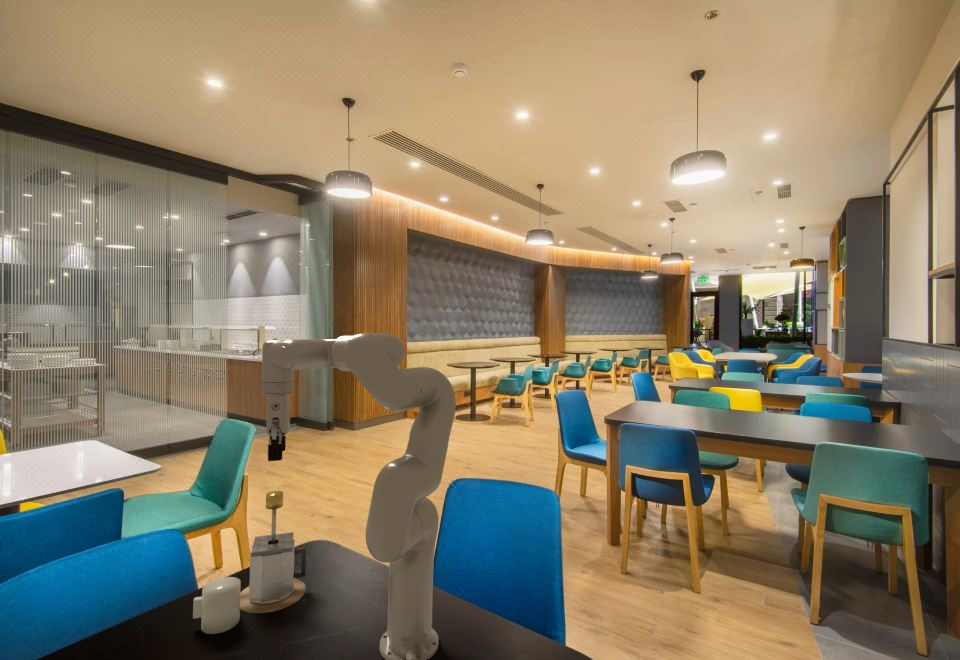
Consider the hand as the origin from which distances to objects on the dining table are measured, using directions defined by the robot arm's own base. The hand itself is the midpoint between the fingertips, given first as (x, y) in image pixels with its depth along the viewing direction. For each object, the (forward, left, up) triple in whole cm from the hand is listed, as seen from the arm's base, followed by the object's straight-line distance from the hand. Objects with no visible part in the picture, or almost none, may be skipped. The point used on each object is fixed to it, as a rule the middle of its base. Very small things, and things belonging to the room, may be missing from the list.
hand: (277, 455), depth 117 cm
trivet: (-1, 0, -35) cm, 35 cm away
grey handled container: (-1, -1, -35) cm, 35 cm away
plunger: (-1, 0, -27) cm, 27 cm away
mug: (-10, +10, -35) cm, 38 cm away
